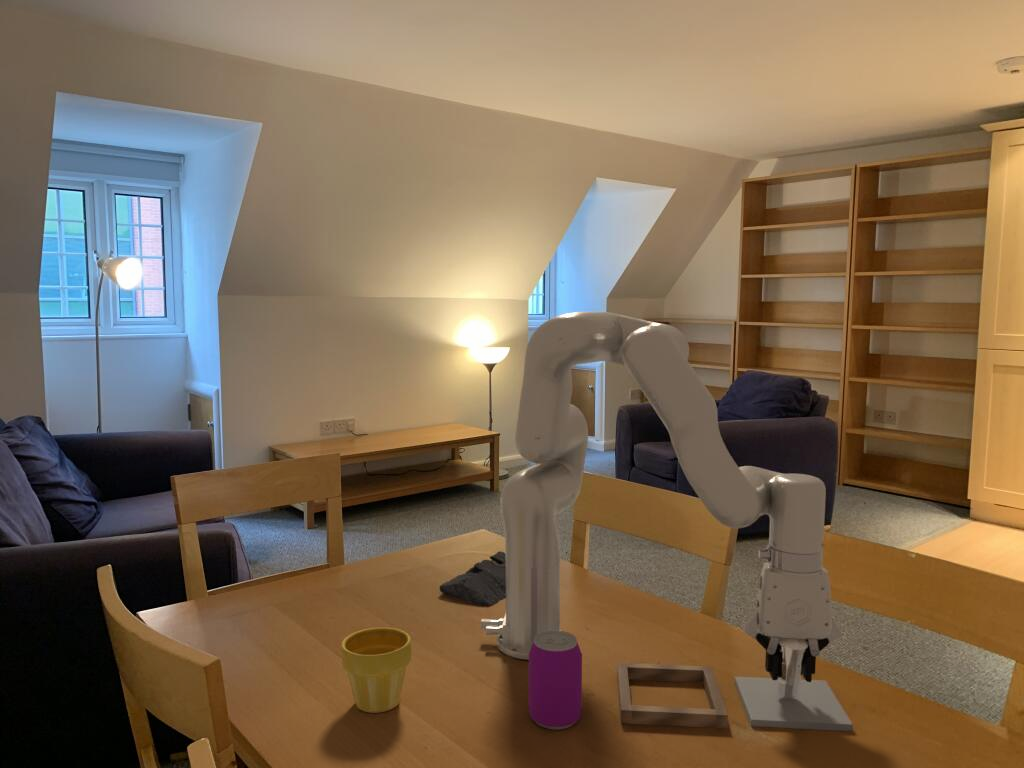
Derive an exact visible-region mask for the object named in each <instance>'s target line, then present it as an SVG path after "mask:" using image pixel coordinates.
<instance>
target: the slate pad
mask: <svg viewBox="0 0 1024 768" xmlns="http://www.w3.org/2000/svg"><path fill="white" fill-rule="evenodd" d="M734 684H735V688H736V690H737V693H738V696H739V698H740V700H741V704H742V706H743V708H744V712H745V715H746V717H747V720H748V722H749V724H750V727H758V728H759V727H760V728H761V727H762V728H778V729H779V728H780V729H782V728H783V729H784V728H785V729H798V730H800V729H801V730H817V731H819V730H820V731H821V730H822V731H840V732H841V731H842V732H853V726H854V725H853V722H852V721H851V719H850V718H849V716H848V715H847V713H846V711H845V709H844V708H843V706H842V705H841V704H840V701H839V700H838V699H837V697H836V695H835V693H834V691H833V690H832V688H831V687H830V685H829V684H828V682H827V681H826V680H822V679H821V680H819V679H812V680H811V682H807V681H806V680H805V679H802V678H801V681H800V686H799V691H798V695H797V697H794V698H788V697H783V696H781V695H779V694H778V693H777V692H776V691H775V680H772V677H756V676H755V677H753V676H752V677H751V676H734Z"/></svg>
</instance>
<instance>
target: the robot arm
mask: <svg viewBox="0 0 1024 768" xmlns="http://www.w3.org/2000/svg"><path fill="white" fill-rule="evenodd" d="M689 357H690V346H689V342H688V340H687V338H686V336H685V335H684V333H682V332H681V330H679V329H678V328H677V327H675V326H673V325H669V324H665V323H662V322H661V323H659V322H655V321H650V320H645V319H641V318H636V317H631V316H627V315H622V314H619V313H615V312H609V311H575V312H574V311H573V312H569V313H564V314H560V315H556V316H554V317H552V318H550V319H548V320H546V321H544V322H543V323H541V324H540V325H539V326H538V327H537V328H536V329H535V331H534V332H533V333H532V335H531V336H530V338H529V340H528V343H527V346H526V350H525V355H524V366H523V367H524V368H523V378H522V384H521V391H520V399H519V405H518V407H519V408H518V414H517V422H516V429H515V447H516V450H517V452H518V454H519V455H520V456H521V458H522V459H524V460H525V461H527V462H530V463H533V464H534V465H532V466H529V467H527V468H524V469H522V470H520V471H517V472H516V473H514V474H513V475H512V476H511V477H510V478H508V480H506V482H505V483H504V485H503V487H502V490H501V493H500V501H499V502H500V511H501V516H502V522H503V529H504V542H505V545H504V546H505V551H504V553H505V560H506V598H505V614H504V617H499V618H498V619H492V618H481V620H480V621H481V622H480V630H482V631H485V635H486V636H487V635H489V636H490V635H491V636H493V635H497V637H496V646H497V649H499V650H500V652H502V653H503V654H505V655H506V656H509V657H511V658H515V659H519V660H527V661H529V652H530V649H531V647H532V644H533V642H534V638H535V636H536V635H537V634H539V633H541V632H545V631H554V630H556V631H562V630H561V629H560V623H561V621H560V620H561V619H560V618H561V617H560V615H561V613H560V611H561V608H560V606H561V605H560V604H561V548H560V547H561V546H560V544H561V543H560V536H559V532H558V530H557V524H556V516H557V515H559V514H560V513H562V512H563V511H566V510H567V509H569V508H571V506H573V504H575V502H576V501H577V500H578V497H579V495H580V492H581V489H582V488H581V487H582V484H583V483H582V482H583V476H584V469H585V463H586V455H587V450H588V449H587V447H588V441H589V427H588V423H587V420H586V418H585V415H584V413H583V412H582V411H581V409H579V408H578V407H577V406H576V405H574V404H572V403H571V400H572V399H571V398H572V395H573V387H574V386H573V385H574V384H573V376H572V374H573V373H572V368H573V367H574V366H577V365H582V364H590V363H597V362H598V363H599V362H607V363H612V364H616V365H621V366H624V367H625V368H626V369H627V371H628V372H629V374H630V376H631V378H632V379H633V380H634V382H635V383H636V385H637V386H638V388H639V389H640V391H641V392H642V393H643V395H644V396H645V398H646V399H647V401H648V402H649V404H650V405H651V406H652V408H653V410H654V412H655V413H656V414H657V416H658V417H659V419H660V420H661V422H662V424H663V425H664V427H665V428H666V430H667V432H668V434H669V438H670V441H671V445H672V448H673V449H674V452H675V455H676V457H677V459H678V463H679V465H680V467H681V470H682V472H683V474H684V475H685V478H686V480H687V482H688V483H689V485H690V486H691V487H692V489H693V491H694V492H695V494H696V495H697V497H698V498H699V500H700V501H701V503H702V504H703V506H704V507H705V508H706V509H707V511H708V512H709V514H711V516H712V517H713V518H714V519H715V520H716V521H717V522H719V523H720V524H722V525H724V526H726V527H729V528H732V529H742V528H747V527H750V526H751V525H753V524H754V523H755V522H757V521H758V519H759V518H760V517H761V516H765V515H767V516H768V517H769V530H768V531H769V537H768V543H767V546H766V548H763V549H758V553H757V555H758V559H761V560H764V561H767V562H764V563H763V565H762V569H761V573H760V576H759V578H760V579H759V583H758V588H757V596H756V603H755V610H754V611H753V612H752V613H751V615H750V616H749V617H748V618H747V620H746V621H745V622H744V624H743V625H742V629H743V631H744V633H745V634H746V635H748V636H749V637H751V638H752V639H754V640H756V641H757V643H758V644H760V646H761V647H762V648H763V649H764V650H765V663H764V667H765V671H766V672H767V673H768V674H769V676H770V678H772V680H777V679H778V669H779V655H778V653H777V649H776V648H777V644H778V641H779V638H792V639H805V640H806V641H807V642H808V643H809V644H808V648H807V653H806V657H805V661H804V665H803V670H802V675H801V676H803V678H804V679H803V680H806V681H807V682H811V680H813V679H812V677H813V676H812V675H816V661H817V657H818V656H819V655H820V652H821V651H822V650H824V649H825V648H826V647H827V646H829V644H830V643H833V642H834V641H835V640H837V639H839V638H840V637H842V635H843V634H842V631H841V630H840V628H839V626H838V625H837V624H836V622H835V621H834V620H833V615H832V614H833V613H832V593H831V591H832V590H831V583H830V576H829V572H828V570H827V569H826V568H825V567H824V566H823V557H824V556H823V555H824V532H825V515H826V514H825V513H826V499H827V498H826V497H827V495H826V494H827V493H826V492H827V491H826V490H827V489H826V484H825V483H824V481H823V480H822V479H821V478H819V477H817V476H813V475H809V474H805V473H782V472H778V471H773V470H770V469H766V468H763V467H757V466H755V465H753V466H752V465H744V466H739V465H738V464H737V463H736V462H735V460H734V458H733V456H731V454H730V452H729V450H728V448H727V446H726V444H725V443H724V440H723V437H722V436H721V431H720V427H719V418H718V407H717V403H716V401H715V398H714V397H713V395H712V393H711V392H710V391H709V390H708V388H707V387H706V385H705V384H704V382H703V381H702V380H701V378H700V377H699V375H698V374H697V373H696V371H695V370H694V367H692V365H691V364H690V362H689ZM758 626H759V629H758V628H757V627H758Z"/></svg>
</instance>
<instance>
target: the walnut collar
mask: <svg viewBox="0 0 1024 768" xmlns="http://www.w3.org/2000/svg"><path fill="white" fill-rule="evenodd" d="M616 663H617V667H616V669H617V671H616V674H617V677H616V678H617V688H618V702H619V703H618V704H619V714H620V715H619V716H620V723H621V724H631V725H633V724H634V725H646V726H647V725H649V726H651V725H652V726H669V727H689V728H690V727H691V728H704V729H705V728H708V729H709V728H710V729H728V716H729V715H728V713H727V709H726V706H725V703H724V700H723V697H722V694H721V692H720V689H719V685H718V682H717V679H716V675H715V674H714V669H713V668H712V666H708V665H707V666H706V665H685V664H684V665H683V664H682V665H681V664H664V663H663V664H661V663H641V662H640V663H636V662H635V663H633V662H616ZM629 680H638V681H639V680H641V681H659V682H660V681H661V682H666V681H667V682H684V683H685V682H687V683H703V687H704V691H705V695H706V698H707V701H708V704H709V706H710V707H709V708H696V707H695V708H694V707H678V706H677V707H675V706H674V707H673V706H657V705H655V706H654V705H635V704H632V702H631V691H630V681H629Z"/></svg>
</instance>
